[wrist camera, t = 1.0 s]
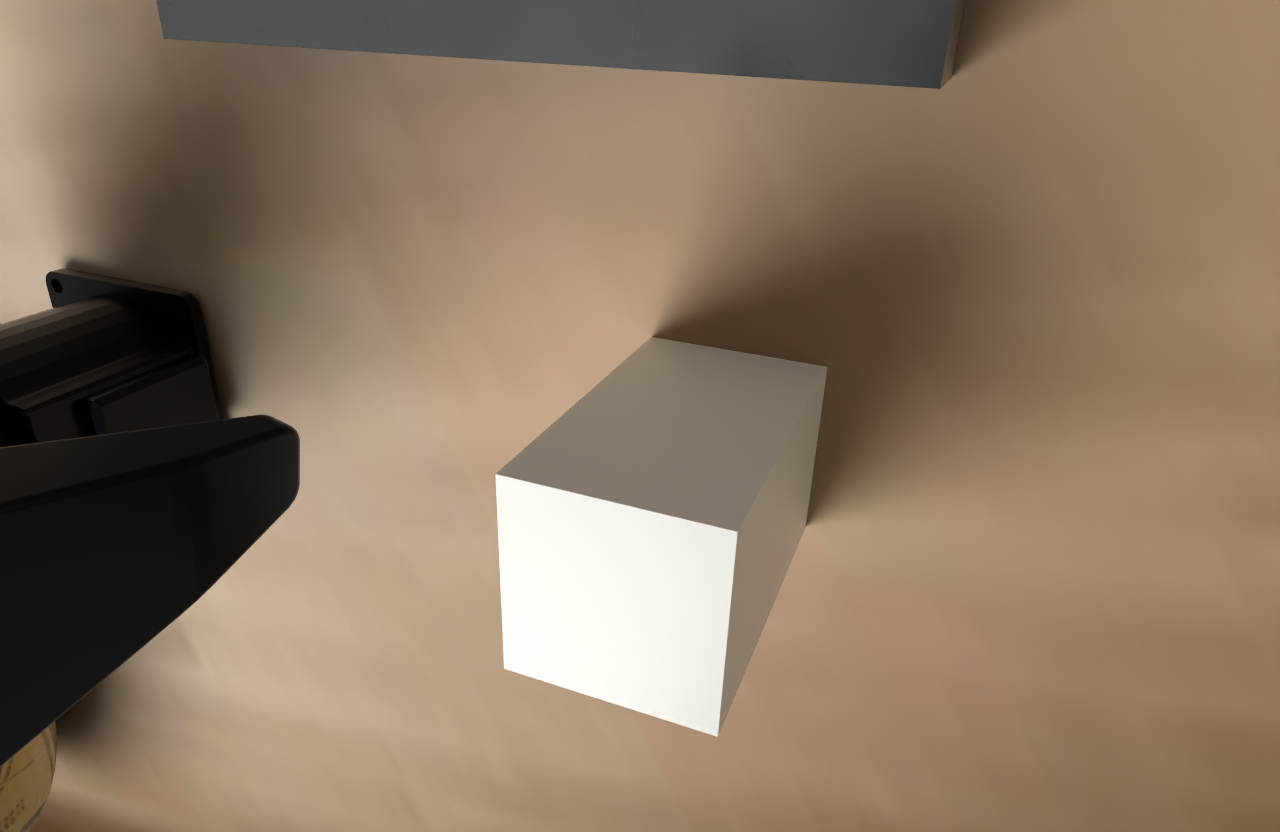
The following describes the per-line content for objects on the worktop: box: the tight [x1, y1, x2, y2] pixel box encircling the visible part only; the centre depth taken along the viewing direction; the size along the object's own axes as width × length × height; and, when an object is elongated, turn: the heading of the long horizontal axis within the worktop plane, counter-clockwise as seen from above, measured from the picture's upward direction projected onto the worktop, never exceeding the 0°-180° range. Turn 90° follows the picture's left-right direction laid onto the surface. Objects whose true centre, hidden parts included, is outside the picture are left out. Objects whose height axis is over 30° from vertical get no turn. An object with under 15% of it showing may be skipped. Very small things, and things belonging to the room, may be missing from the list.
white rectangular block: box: [496, 337, 827, 737], centre depth 20 cm, size 5×5×8 cm
